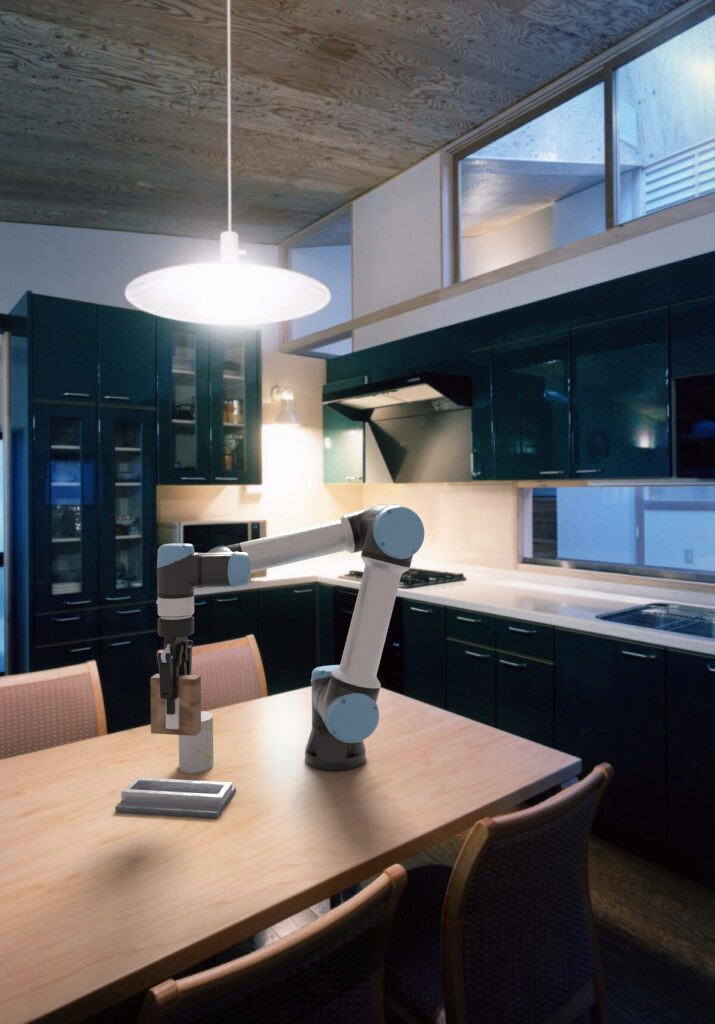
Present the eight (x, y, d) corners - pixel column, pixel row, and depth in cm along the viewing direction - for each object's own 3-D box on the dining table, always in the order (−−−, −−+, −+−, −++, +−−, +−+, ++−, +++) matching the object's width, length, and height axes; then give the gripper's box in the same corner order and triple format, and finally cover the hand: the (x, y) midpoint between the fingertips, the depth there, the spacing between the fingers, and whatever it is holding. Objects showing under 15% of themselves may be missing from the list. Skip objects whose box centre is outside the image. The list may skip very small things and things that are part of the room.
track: (235, 791, 145) (235, 777, 145) (217, 818, 133) (217, 803, 133) (141, 786, 147) (141, 772, 147) (115, 812, 136) (115, 797, 136)
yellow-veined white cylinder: (204, 773, 154) (204, 723, 154) (173, 771, 156) (172, 721, 155) (218, 760, 162) (218, 712, 162) (188, 757, 164) (187, 710, 163)
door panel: (201, 730, 141) (201, 675, 140) (195, 736, 138) (195, 679, 137) (157, 728, 142) (156, 673, 142) (150, 733, 139) (150, 677, 139)
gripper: (174, 609, 148) (175, 711, 148) (141, 623, 132) (142, 738, 132) (206, 609, 147) (207, 713, 147) (177, 624, 131) (177, 740, 131)
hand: (176, 724), depth 140 cm, fingers closed on door panel, 3 cm apart
